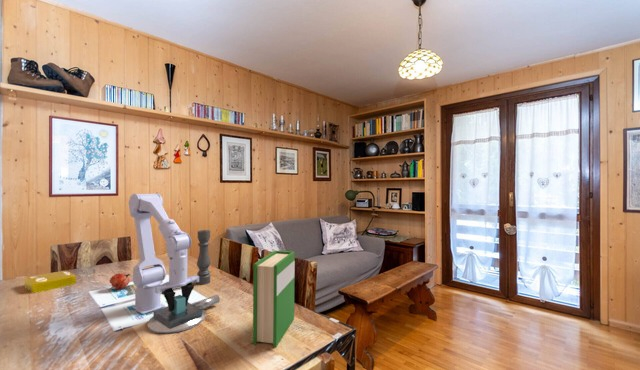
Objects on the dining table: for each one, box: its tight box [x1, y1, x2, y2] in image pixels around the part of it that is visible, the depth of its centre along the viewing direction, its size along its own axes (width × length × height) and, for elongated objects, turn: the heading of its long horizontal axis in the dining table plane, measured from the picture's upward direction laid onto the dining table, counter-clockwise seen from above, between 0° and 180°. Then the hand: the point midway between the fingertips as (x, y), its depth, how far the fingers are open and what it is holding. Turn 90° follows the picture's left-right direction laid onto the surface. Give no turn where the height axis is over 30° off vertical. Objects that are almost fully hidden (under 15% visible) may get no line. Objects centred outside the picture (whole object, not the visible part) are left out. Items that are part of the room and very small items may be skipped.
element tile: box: [24, 270, 77, 294], centre depth 130 cm, size 15×15×5 cm
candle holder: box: [196, 229, 211, 286], centre depth 135 cm, size 6×6×25 cm
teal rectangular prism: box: [171, 294, 186, 315], centre depth 97 cm, size 4×3×7 cm
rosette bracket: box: [147, 294, 221, 335], centre depth 100 cm, size 18×24×4 cm
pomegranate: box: [108, 273, 131, 291], centre depth 126 cm, size 7×7×10 cm
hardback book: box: [252, 250, 296, 348], centre depth 91 cm, size 18×7×24 cm, turn 168°
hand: (177, 307), depth 97 cm, fingers open, 4 cm apart
